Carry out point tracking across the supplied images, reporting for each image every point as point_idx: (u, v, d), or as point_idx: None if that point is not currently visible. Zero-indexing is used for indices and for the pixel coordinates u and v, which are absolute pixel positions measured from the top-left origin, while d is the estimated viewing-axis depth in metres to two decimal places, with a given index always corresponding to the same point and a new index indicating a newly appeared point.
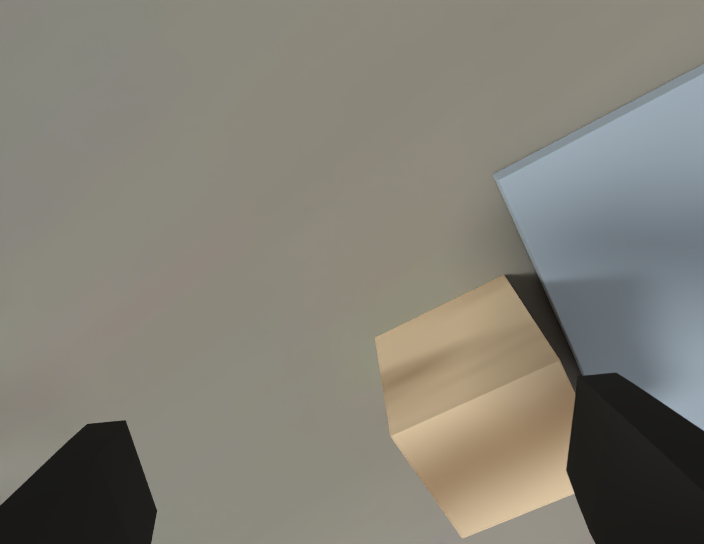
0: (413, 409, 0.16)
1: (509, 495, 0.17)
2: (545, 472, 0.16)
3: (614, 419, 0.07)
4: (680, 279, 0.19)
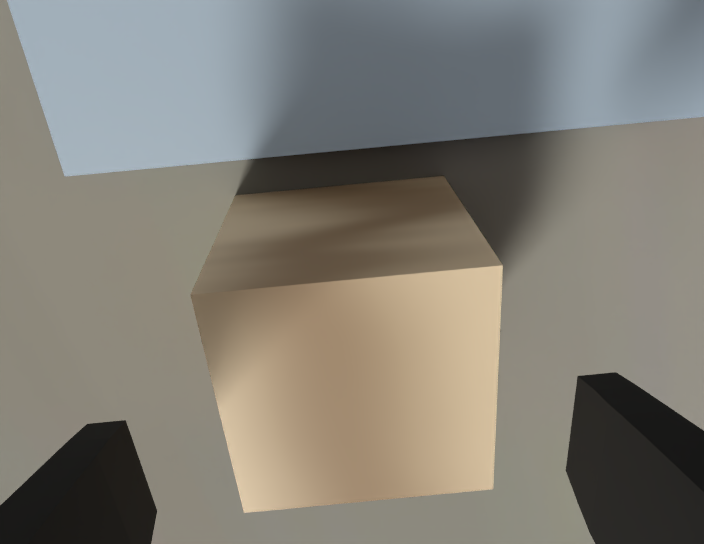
0: None
1: (442, 416, 0.10)
2: (424, 361, 0.10)
3: (614, 419, 0.07)
4: None
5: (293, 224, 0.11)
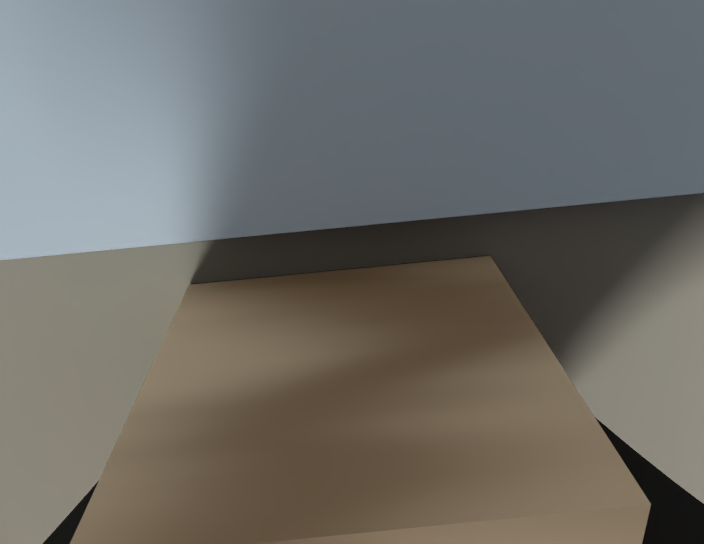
0: None
1: None
2: None
3: None
4: None
5: (267, 361, 0.07)
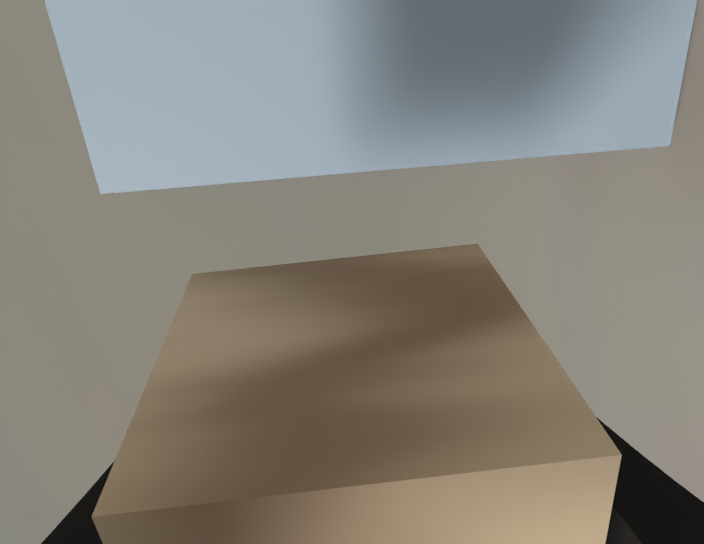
0: None
1: None
2: None
3: None
4: (311, 14, 0.14)
5: (270, 341, 0.07)
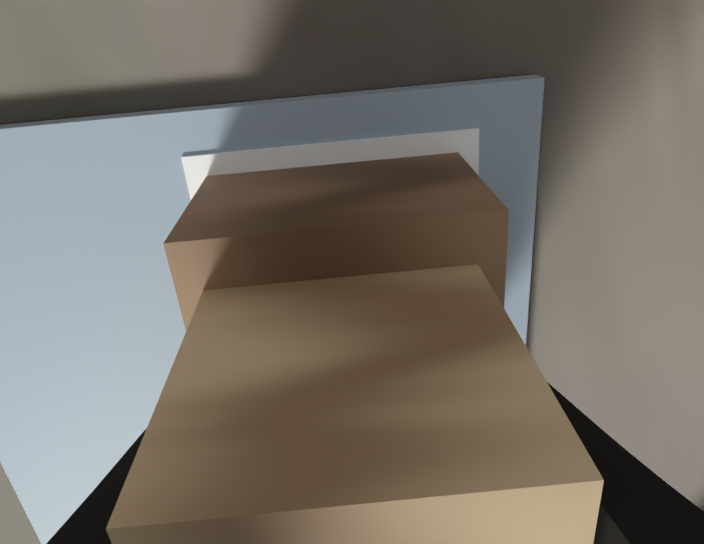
0: None
1: None
2: None
3: None
4: None
5: (276, 359, 0.08)
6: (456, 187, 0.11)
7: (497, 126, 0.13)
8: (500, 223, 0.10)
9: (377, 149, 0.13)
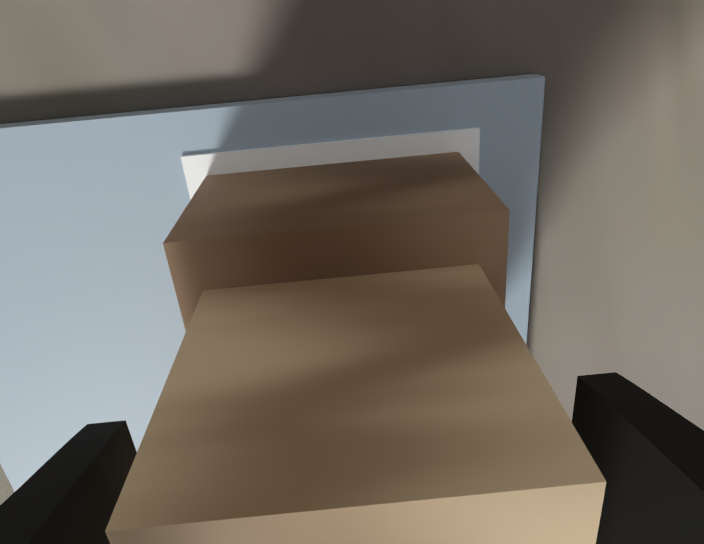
0: None
1: None
2: None
3: (614, 419, 0.07)
4: None
5: (275, 360, 0.08)
6: (456, 186, 0.11)
7: (498, 125, 0.13)
8: (501, 223, 0.10)
9: (377, 149, 0.13)
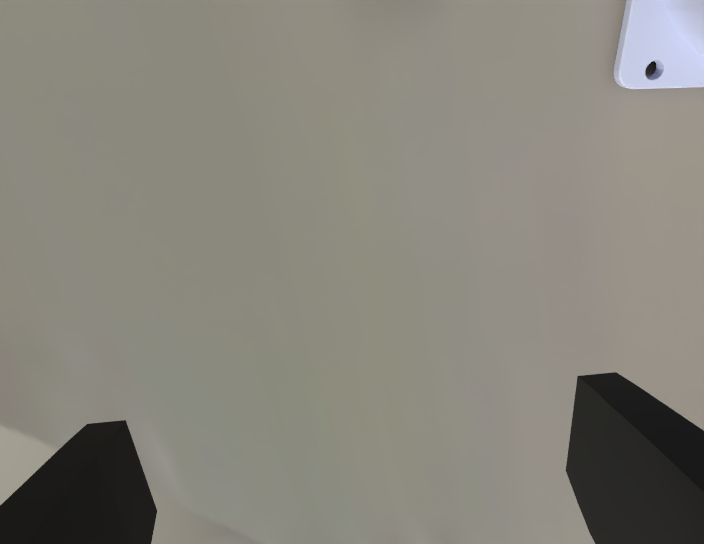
0: None
1: None
2: None
3: (614, 419, 0.07)
4: None
5: None
6: None
7: None
8: None
9: None
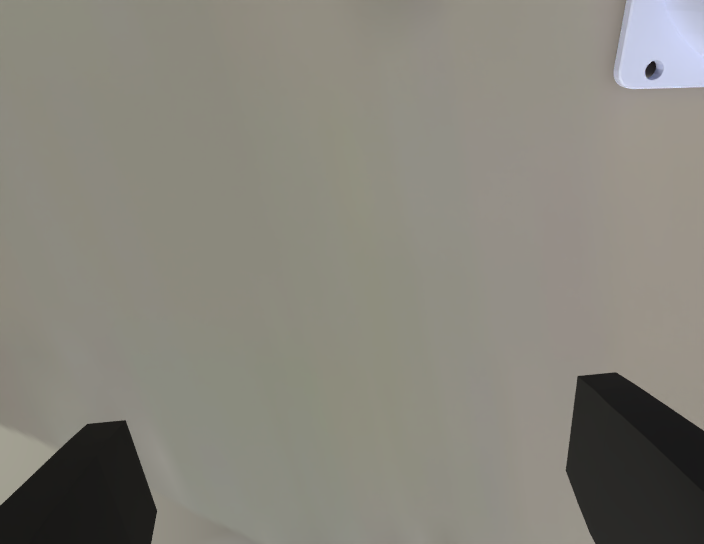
0: None
1: None
2: None
3: (614, 419, 0.07)
4: None
5: None
6: None
7: None
8: None
9: None
